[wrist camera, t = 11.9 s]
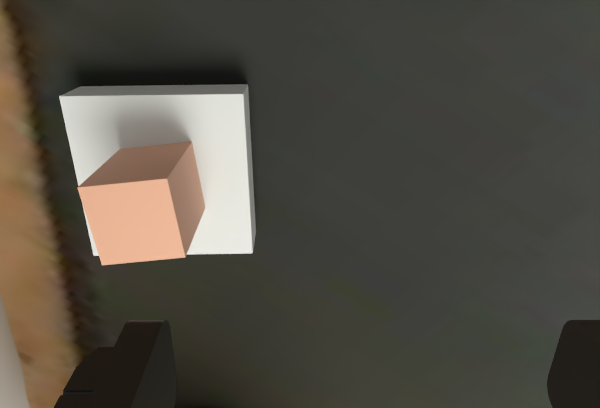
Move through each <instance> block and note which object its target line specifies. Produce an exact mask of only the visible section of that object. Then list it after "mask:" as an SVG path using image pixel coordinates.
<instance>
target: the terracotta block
mask: <svg viewBox="0 0 600 408" xmlns="http://www.w3.org/2000/svg"><path fill="white" fill-rule="evenodd" d="M77 188H78V191H79V194H80V197H81V201H82V204H83V207H84V210H85V213H86V216H87V220H88V223H89V226H90V229H91V232H92V235H93V238H94V242H95V245H96V248H97V251H98V254H99V257H100V260H101V264H102V265H110V264H121V263H131V262H142V261H152V260H163V259H173V258H184V257H186V255H187V252H188V250H189V247H190V245H191V242H192V240H193V237H194V235H195V232H196V230H197V227H198V225H199V222H200V220H201V218H202V215H203V213H204V210H205V203H204V198H203V193H202V189H201V184H200V179H199V174H198V169H197V164H196V159H195V154H194V149H193V144H192V142H182V143H173V144H163V145H153V146H144V147H134V148H124V149H119V150H118V151H117V152H116V153H115V154H114V155H113V156H111V157H110V158H109V159H108V160H107V161H106V162H105V163H104V164H103V165H102V166H101V167H99V168H98V169H97V170H96V171H95V172H94V173H93V174H92V175H91V176H90V177H88V178H87V179H86V180H85V181H84V182H83V183H82V184H81V185H80V186H79V187H77Z"/></svg>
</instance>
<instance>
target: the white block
mask: <svg viewBox="0 0 600 408" xmlns="http://www.w3.org/2000/svg"><path fill="white" fill-rule="evenodd" d="M59 98H60V102H61V107H62V112H63V116H64V121H65V126H66V130H67V135H68V139H69V144H70V149H71V153H72V158H73V162H74V167H75V172H76V176H77V181H78V186H80V185H81V184H82V183H83V182H84V181H85V180H86V179H87V178H88V177H90V176H91V175H92V174H93V173H94V172H95V171H96V170H97V169H98V168H99V167H101V166H102V165H103V164H104V163H105V162H106V161H107V160H108V159H109V158H110V157H111V156H113V155H114V154H115V153H116V152H117V151H118V150H119V149H124V148H134V147H144V146H153V145H163V144H173V143H182V142H192V144H193V149H194V154H195V159H196V164H197V169H198V174H199V179H200V184H201V189H202V193H203V198H204V203H205V210H204V213H203V215H202V218H201V220H200V222H199V225H198V227H197V230H196V232H195V235H194V237H193V240H192V242H191V245H190V247H189V250H188V252H187V254H240V253H253V247H254V241H255V234H256V225H255V207H254V188H253V169H252V151H251V132H250V113H249V94H248V84H230V85H151V86H81V87H78V88H76V89H74V90H72V91H70V92H67V93H65V94H63V95H61V96H59ZM83 209H84V207H83ZM84 213H85V210H84ZM85 218H86V222H87V227H88V232H89V236H90V241H91V246H92V250H93V255H94V256H99V254H98V251H97V248H96V245H95V242H94V238H93V235H92V232H91V229H90V226H89V223H88V220H87V216H86V213H85Z"/></svg>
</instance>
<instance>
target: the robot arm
mask: <svg viewBox="0 0 600 408" xmlns="http://www.w3.org/2000/svg"><path fill="white" fill-rule="evenodd" d="M547 388H548V395H549V399H550V402H551V405H552V407H553V408H600V320H570V321H568V322H567V323H566V324H565V325H564V327H563V329H562V332H561V335H560V339H559V342H558V345H557V349H556V352H555V355H554V358H553V362H552V365H551V368H550V372H549V375H548V380H547ZM176 392H177V379H176V370H175V362H174V355H173V347H172V339H171V331H170V326H169V323H168V321H167V320H130V321H128V322H127V323H126V324H125V326H124V328H123V330H122V332H121V334H120V336H119V338H118V340H117V342H116V344H115V346H114V347H98V348H97V349H96V350H95V351H94V352H93V353H91V354H90V355H89V356H88V357H87V358H86V359H85V360H84V361H83V362H81V363H80V364H79V365H78V366H77V367H76V369H75V370H74V372H73V374H72V376H71V378H70V379H69V381H68V383H67V385H66V387H65V388H64V390H63V395H61V396H60V397H59V399H58V401H57V403H56V404H55V406H54V408H175V402H176Z"/></svg>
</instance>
